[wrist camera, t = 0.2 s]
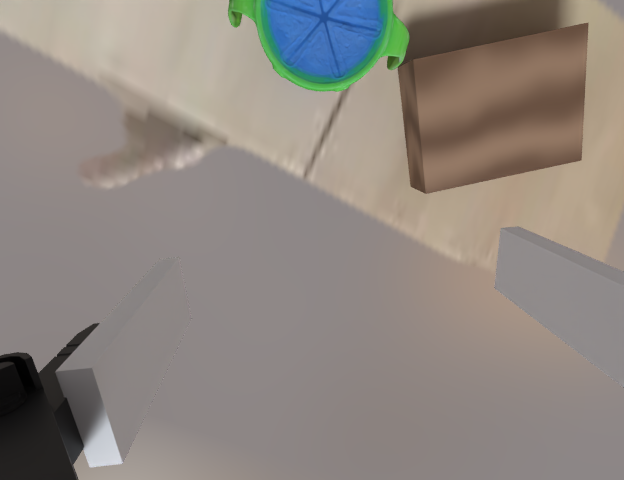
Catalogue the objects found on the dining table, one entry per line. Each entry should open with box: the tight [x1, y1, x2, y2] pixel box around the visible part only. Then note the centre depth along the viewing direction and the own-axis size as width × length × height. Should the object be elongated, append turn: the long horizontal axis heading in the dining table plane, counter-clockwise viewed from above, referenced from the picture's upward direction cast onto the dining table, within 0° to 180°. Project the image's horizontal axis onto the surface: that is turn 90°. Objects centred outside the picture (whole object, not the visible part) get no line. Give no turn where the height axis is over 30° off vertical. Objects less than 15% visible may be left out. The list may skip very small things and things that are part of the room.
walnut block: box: [398, 23, 588, 194], centre depth 37 cm, size 13×17×5 cm
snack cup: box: [228, 0, 410, 92], centre depth 31 cm, size 16×10×10 cm
